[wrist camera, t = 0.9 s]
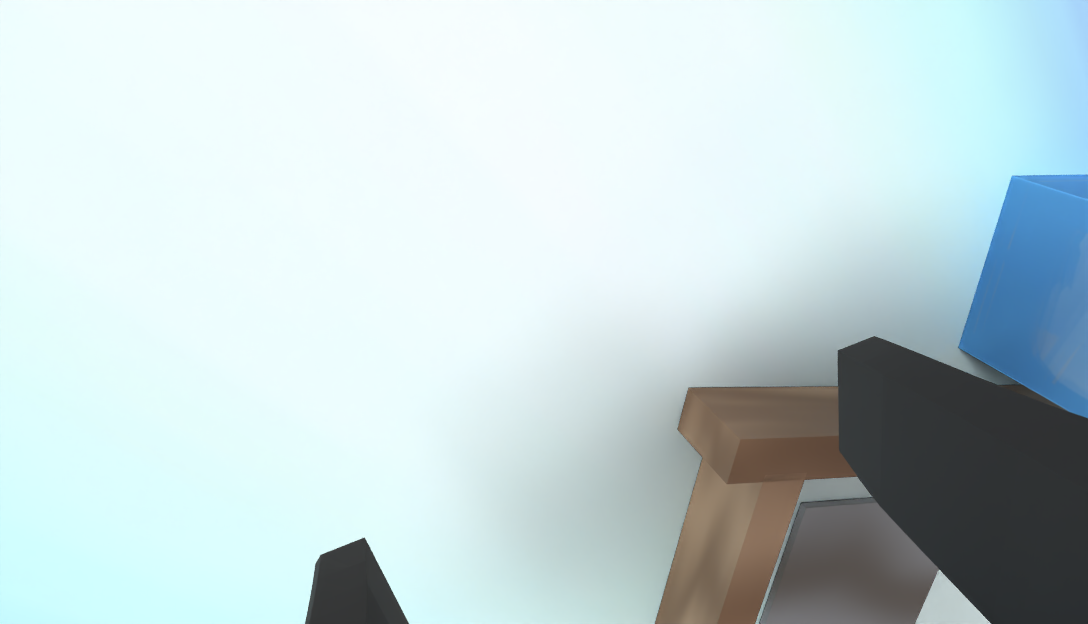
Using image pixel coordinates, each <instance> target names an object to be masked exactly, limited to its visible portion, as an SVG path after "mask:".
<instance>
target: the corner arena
mask: <svg viewBox="0 0 1088 624" xmlns="http://www.w3.org/2000/svg"><path fill="white" fill-rule="evenodd" d="M998 386H1001V387H1004V388H1006V389H1009V390H1011V391H1014V392H1017V393H1019V394H1022V395H1025V396H1027V397H1030V398H1033V399H1035V400H1038V401H1041V402H1043V403H1046V404H1049V405H1052V406H1054V407H1057V408H1060V409H1063V410H1066V409H1064V408H1062V407H1060V406H1059V405H1057V404H1055V403H1053V402H1052V401H1050V400H1048V399H1047V398H1045V397H1043V396H1041V395H1040V394H1038V393H1036V392H1034V391H1033V390H1031V389H1029V388H1027V387H1026V386H1024V385H998ZM1066 411H1067V410H1066ZM1068 412H1069V411H1068ZM678 431H679V432H680V433H681V434H682V435H683V436H684V437H685V438H686V439H687V441H688V442H689V443H690V444H691V445H692V446H693V447H694V448H695V450H696V451H697V452H698V453H699V454H700V455H701V456H702V457H703V458H702V461H701V465H700V468H699V472H698V475H697V479H696V482H695V486H694V489H693V493H692V496H691V500H690V503H689V507H688V510H687V514H686V517H685V521H684V524H683V528H682V531H681V534H680V538H679V541H678V545H677V548H676V552H675V555H674V559H673V562H672V566H671V569H670V573H669V576H668V580H667V583H666V587H665V590H664V594H663V597H662V601H661V604H660V608H659V611H658V615H657V618H656V622H655V624H755V622H756V619H757V616H758V613H759V611H760V608H761V605H762V602H763V599H764V596H765V593H766V590H767V587H768V584H769V582H770V579H771V576H772V573H773V570H774V567H775V564H776V561H777V558H778V555H779V552H780V550H781V547H782V544H783V541H784V538H785V535H786V532H787V529H788V526H789V523H790V521H791V518H792V515H793V512H794V509H795V506H796V503H797V500H798V497H799V494H800V492H801V489H802V486H803V483H804V480H809V479H825V478H842V477H858V476H857V475H856V474H855V472H854V471H853V469H852V468H851V467H850V465H849V464H848V462H847V461H846V460H845V458H844V457H843V455H842V454H841V453H840V451H839V412H838V387H713V388H688V392H687V396H686V399H685V403H684V407H683V411H682V414H681V418H680V422H679V425H678ZM938 570H939V568H938V567H937V566H936V565H935V564H934V563H933V562H932V561H931V560H930V559H929V558H928V557H927V556H926V555H925V554H924V553H923V552H922V551H921V550H920V549H919V548H918V546H917V545H916V544H915V543H914V542H913V541H912V540H911V539H910V538H909V537H908V536H907V535H906V534H905V533H904V532H903V531H902V529H901V528H900V527H899V526H898V525H897V524H896V523H895V522H894V521H893V520H892V519H891V518H890V517H889V516H888V514H887V513H886V512H885V511H884V510H883V509H882V508H881V507H880V506H879V504H878V503H877V502H876V500H875V499H874V498H864V499H850V500H836V501H823V502H809V503H801V505H800V508H799V511H798V514H797V516H796V519H795V522H794V525H793V528H792V531H791V534H790V537H789V539H788V542H787V545H786V548H785V551H784V554H783V557H782V560H781V563H780V565H779V568H778V571H777V574H776V577H775V580H774V583H773V586H772V588H771V591H770V594H769V597H768V600H767V603H766V606H765V609H764V612H763V614H762V617H761V620H760V623H759V624H915V622H916V620H917V618H918V615H919V613H920V611H921V609H922V606H923V604H924V602H925V599H926V597H927V595H928V592H929V590H930V588H931V586H932V583H933V581H934V579H935V576H936V574H937V572H938Z"/></svg>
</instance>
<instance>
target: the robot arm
mask: <svg viewBox="0 0 1088 624" xmlns="http://www.w3.org/2000/svg"><path fill="white" fill-rule="evenodd" d="M838 412H839V451H840V453H841V454H842V455H843V457H844V458H845V460H846V461H847V462H848V464H849V465H850V467H851V468H852V469H853V471H854V472H855V474H856V475H857V476H858V478H859V479H860V481H861V482H862V483H863V485H864V486H865V487H866V489H867V490H868V491H869V493H870V494H871V495H872V496H873V498H874V499H875V500H876V502H877V503H878V504H879V506H880V507H881V508H882V509H883V510H884V511H885V512H886V513H887V514H888V516H889V517H890V518H891V519H892V520H893V521H894V522H895V523H896V524H897V525H898V526H899V527H900V528H901V529H902V531H903V532H904V533H905V534H906V535H907V536H908V537H909V538H910V539H911V540H912V541H913V542H914V543H915V544H916V545H917V546H918V548H919V549H920V550H921V551H922V552H923V553H924V554H925V555H926V556H927V557H928V558H929V559H930V560H931V561H932V562H933V563H934V564H935V565H936V566H937V567H938V568H939V570H940V571H941V572H942V573H943V574H944V575H945V576H946V577H947V578H948V579H949V580H950V581H951V582H952V583H953V584H954V585H955V586H956V587H957V588H958V589H959V590H960V591H961V593H962V594H963V595H964V596H965V597H966V598H967V599H968V600H969V601H970V602H971V603H972V604H973V605H974V606H975V607H976V608H977V609H978V610H979V611H980V612H981V613H982V614H983V616H984V617H985V618H986V619H987V620H988V621H989V622H990V623H991V624H1088V418H1086V417H1083V416H1080V415H1077V414H1074V413H1071V412H1068V411H1066V410H1063V409H1060V408H1057V407H1054V406H1052V405H1049V404H1046V403H1043V402H1041V401H1038V400H1035V399H1033V398H1030V397H1027V396H1025V395H1022V394H1019V393H1017V392H1014V391H1011V390H1009V389H1006V388H1004V387H1001V386H998V385H996V384H993V383H991V382H988V381H986V380H983V379H981V378H978V377H976V376H973V375H971V374H968V373H966V372H963V371H961V370H958V369H956V368H953V367H951V366H949V365H946V364H944V363H941V362H939V361H936V360H934V359H931V358H929V357H926V356H924V355H921V354H919V353H916V352H914V351H912V350H909V349H907V348H904V347H901V346H899V345H896V344H894V343H891V342H889V341H886V340H883V339H880V338H878V337H875V336H874V337H871V338H869V339H866V340H863V341H861V342H858V343H856V344H853V345H851V346H848V347H846V348H843V349H841V350H838ZM305 624H409V623H408V621H407V619H406V617H405V615H404V613H403V611H402V609H401V607H400V606H399V604H398V602H397V600H396V598H395V596H394V594H393V592H392V590H391V588H390V586H389V584H388V582H387V580H386V578H385V576H384V574H383V572H382V570H381V569H380V567H379V565H378V563H377V561H376V559H375V557H374V555H373V553H372V551H371V549H370V547H369V545H368V543H367V541H366V539H365V538H362V539H360V540H357V541H355V542H352V543H350V544H347V545H345V546H342V547H340V548H337V549H334V550H332V551H329V552H327V553H324V554H322V555H320V557H319V559H318V561H317V562H316V565H315V572H314V578H313V585H312V590H311V596H310V602H309V607H308V612H307V617H306V622H305Z"/></svg>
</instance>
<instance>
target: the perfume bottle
mask: <svg viewBox="0 0 1088 624" xmlns="http://www.w3.org/2000/svg"><path fill="white" fill-rule="evenodd" d="M958 348H960V349H961V350H963V351H965V352H967V353H968V354H970V355H972V356H974V357H975V358H977V359H979V360H981V361H982V362H984V363H986V364H988V365H989V366H991V367H993V368H994V369H996V370H998V371H1000V372H1001V373H1003V374H1005V375H1007V376H1008V377H1010V378H1012V379H1014V380H1015V381H1017V382H1019V383H1020V384H1022V385H1024V386H1026V387H1027V388H1029V389H1031V390H1033V391H1034V392H1036V393H1038V394H1040V395H1041V396H1043V397H1045V398H1047V399H1048V400H1050V401H1052V402H1053V403H1055V404H1057V405H1059V406H1060V407H1062V408H1064V409H1066V410H1067V411H1069V412H1071V413H1074V414H1077V415H1080V416H1083V417H1086V418H1088V175H1030V176H1012V177H1011V181H1010V184H1009V187H1008V190H1007V193H1006V197H1005V200H1004V203H1003V206H1002V209H1001V213H1000V216H999V219H998V222H997V225H996V229H995V232H994V235H993V238H992V241H991V245H990V248H989V251H988V254H987V257H986V261H985V264H984V267H983V270H982V273H981V277H980V280H979V283H978V286H977V289H976V293H975V296H974V299H973V302H972V305H971V308H970V312H969V315H968V318H967V321H966V324H965V328H964V331H963V334H962V337H961V340H960V344H959V347H958Z"/></svg>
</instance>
